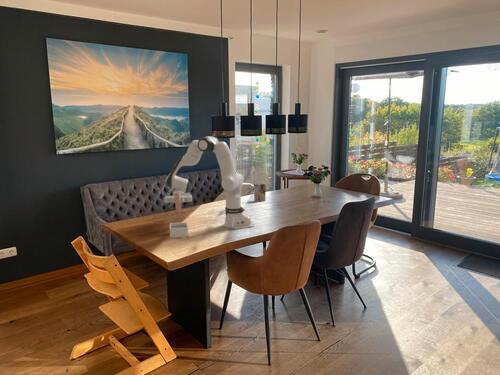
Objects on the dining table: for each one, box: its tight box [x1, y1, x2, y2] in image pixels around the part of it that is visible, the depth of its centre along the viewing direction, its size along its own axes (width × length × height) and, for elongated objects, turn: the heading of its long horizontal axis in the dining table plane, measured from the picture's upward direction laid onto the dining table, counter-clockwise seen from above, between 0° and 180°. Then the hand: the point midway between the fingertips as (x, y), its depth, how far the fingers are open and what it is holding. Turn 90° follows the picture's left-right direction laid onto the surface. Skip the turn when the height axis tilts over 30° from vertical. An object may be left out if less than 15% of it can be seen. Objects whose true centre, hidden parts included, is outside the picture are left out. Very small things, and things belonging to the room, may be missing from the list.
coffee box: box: [253, 183, 266, 203], centre depth 364 cm, size 9×6×16 cm
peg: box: [174, 193, 182, 214], centre depth 276 cm, size 4×4×14 cm
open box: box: [169, 222, 189, 239], centre depth 266 cm, size 12×12×7 cm
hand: (178, 201), depth 274 cm, fingers closed on peg, 4 cm apart
